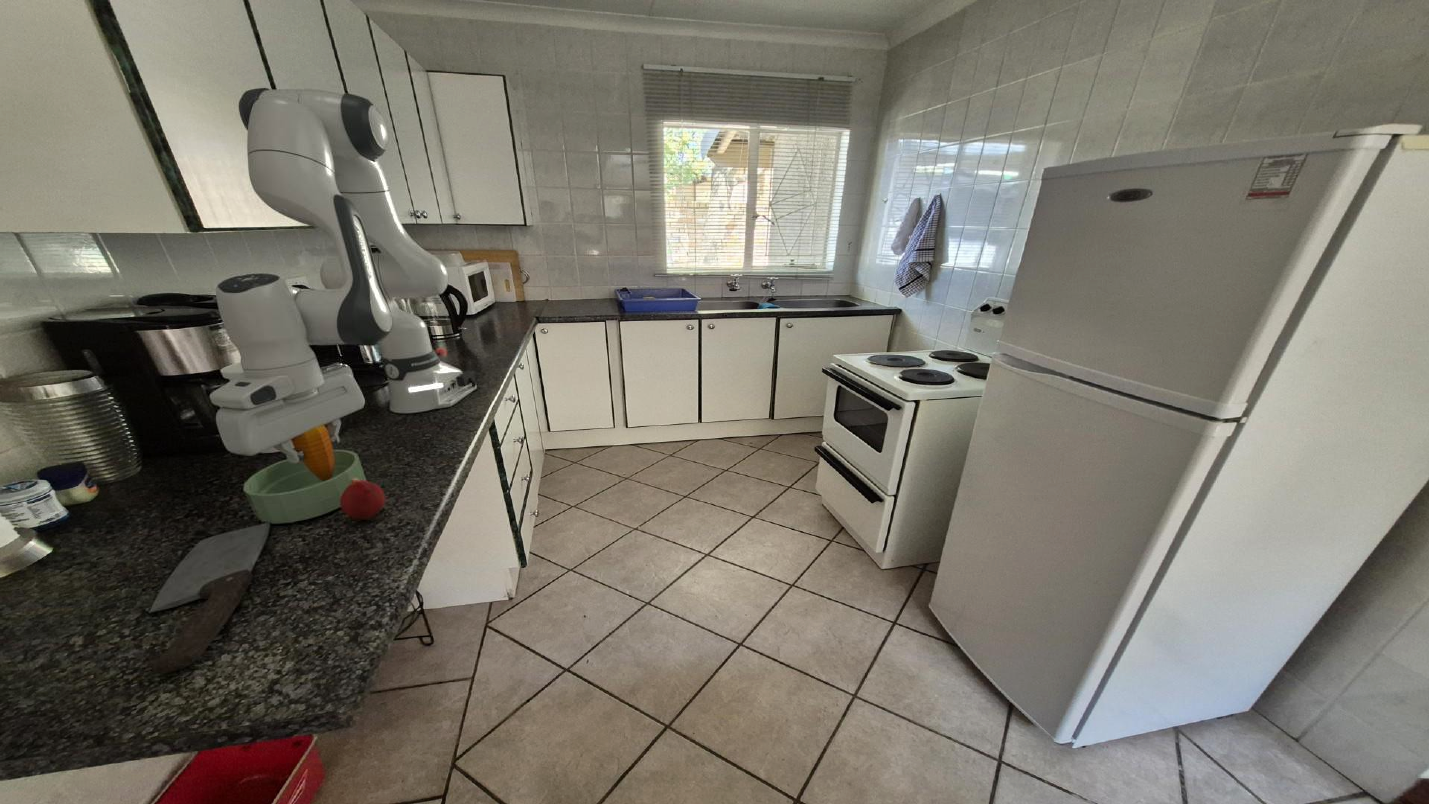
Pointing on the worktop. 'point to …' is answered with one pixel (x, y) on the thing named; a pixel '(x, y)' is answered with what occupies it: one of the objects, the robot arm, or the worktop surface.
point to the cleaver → (208, 590)
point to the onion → (362, 499)
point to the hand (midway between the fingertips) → (315, 452)
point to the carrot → (317, 452)
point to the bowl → (300, 489)
